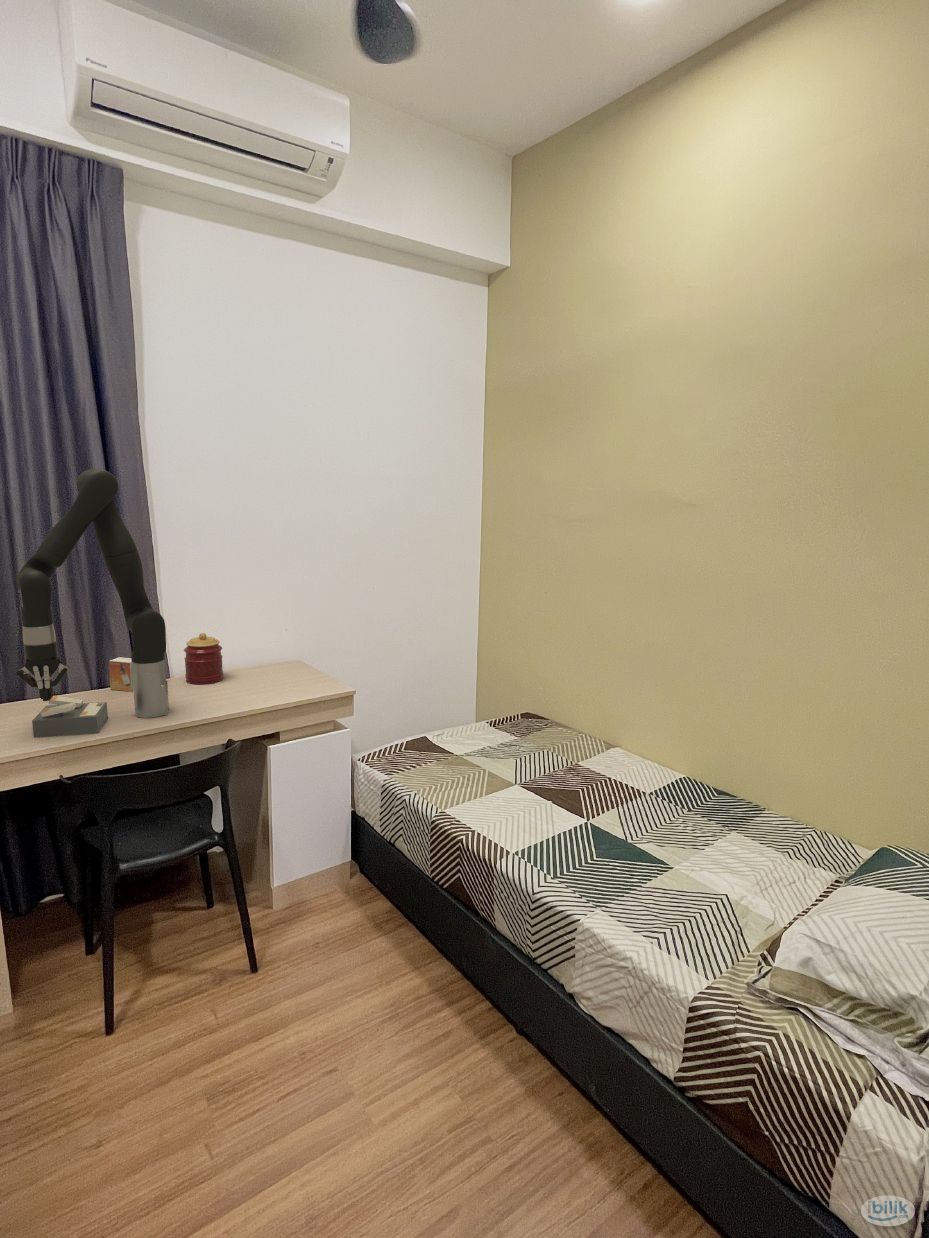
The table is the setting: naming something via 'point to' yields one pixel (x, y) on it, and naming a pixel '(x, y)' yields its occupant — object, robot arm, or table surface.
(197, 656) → the canister
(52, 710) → the rocker
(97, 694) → the table surface
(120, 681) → the small box
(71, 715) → the box
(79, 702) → the rocker
